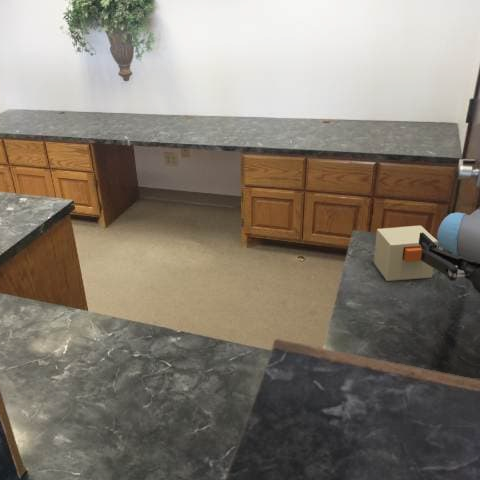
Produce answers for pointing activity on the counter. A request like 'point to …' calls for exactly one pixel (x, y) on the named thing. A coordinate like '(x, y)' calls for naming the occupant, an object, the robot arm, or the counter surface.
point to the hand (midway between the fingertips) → (445, 235)
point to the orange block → (412, 254)
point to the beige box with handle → (400, 253)
